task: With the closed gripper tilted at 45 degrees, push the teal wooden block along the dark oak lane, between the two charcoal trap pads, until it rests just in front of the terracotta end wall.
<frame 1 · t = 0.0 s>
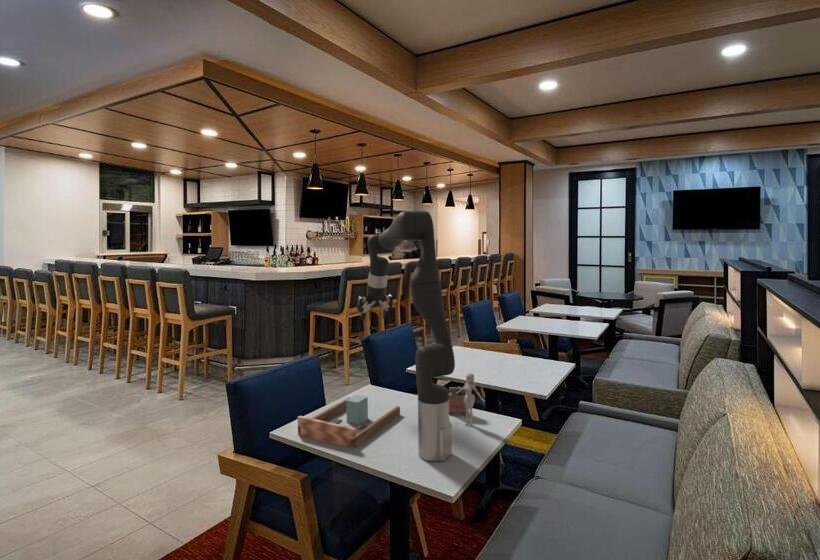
hand: (373, 318, 188), 31 cm above the table, tool tilted 20°, fingers open, 8 cm apart
block: (357, 420, 165), on the table
lighter: (458, 414, 169), on the table
human figurine: (469, 425, 160), on the table
trap pads: (350, 424, 161), on the table
lane box: (350, 424, 161), on the table
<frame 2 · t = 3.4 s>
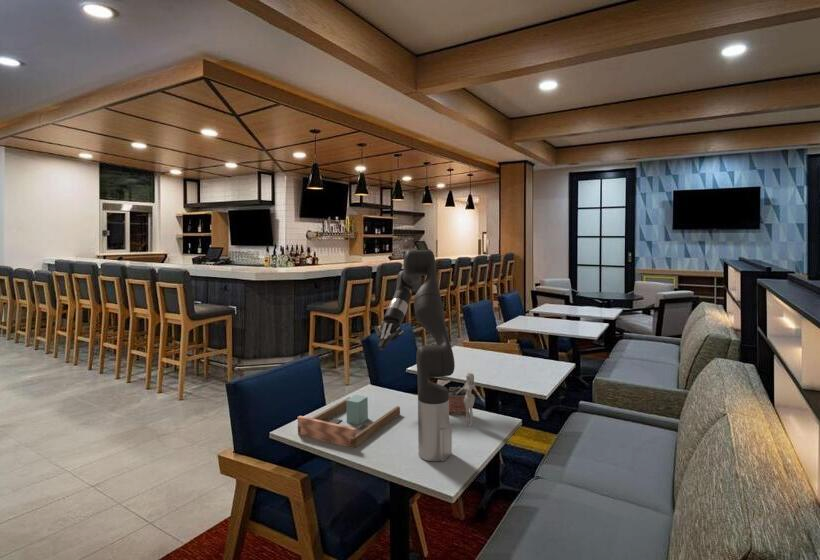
hand: (380, 348, 177), 22 cm above the table, tool tilted 45°, fingers closed
nothing on the table moved.
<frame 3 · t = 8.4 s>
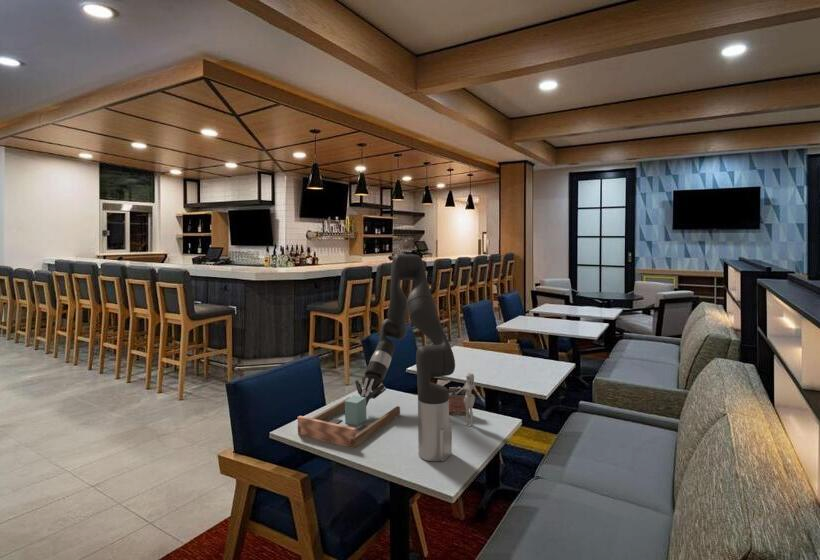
hand: (361, 407, 167), 4 cm above the table, tool tilted 45°, fingers closed
block: (356, 421, 164), on the table, touching gripper
everything else where it was.
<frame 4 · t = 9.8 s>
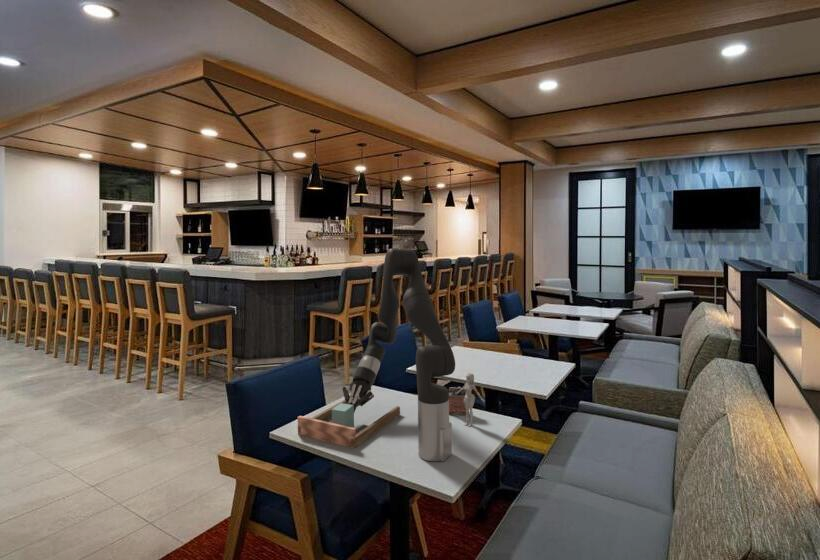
hand: (348, 415, 160), 4 cm above the table, tool tilted 45°, fingers closed
block: (343, 430, 157), on the table, touching gripper
everything else where it was.
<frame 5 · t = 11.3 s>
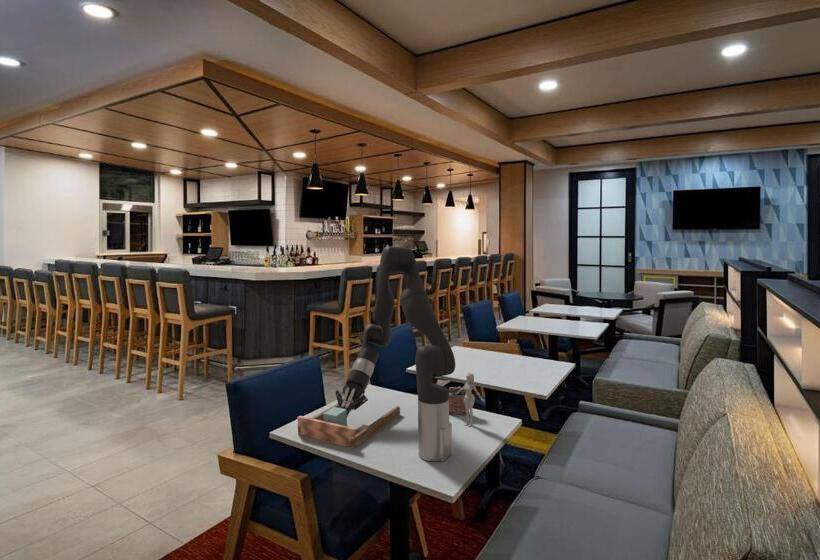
hand: (341, 419, 156), 4 cm above the table, tool tilted 45°, fingers closed
block: (335, 434, 153), on the table, touching gripper
everything else where it was.
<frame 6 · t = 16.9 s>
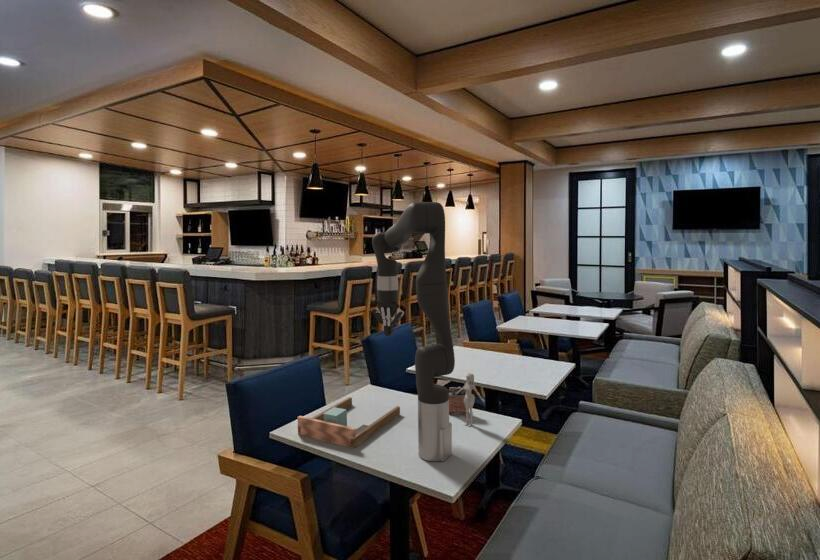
hand: (388, 335, 168), 29 cm above the table, tool pointing down, fingers closed
block: (335, 434, 153), on the table
everything else where it was.
at the end: block 0.3 cm from the target spot, on the table; block tilted 0° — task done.
